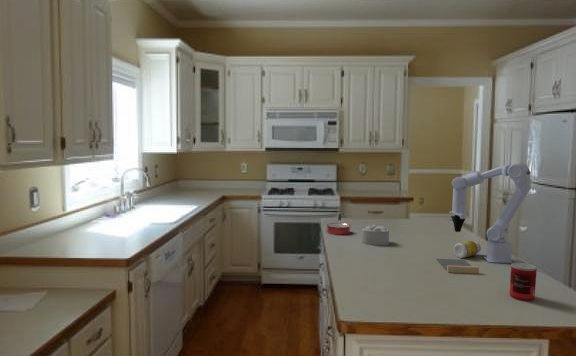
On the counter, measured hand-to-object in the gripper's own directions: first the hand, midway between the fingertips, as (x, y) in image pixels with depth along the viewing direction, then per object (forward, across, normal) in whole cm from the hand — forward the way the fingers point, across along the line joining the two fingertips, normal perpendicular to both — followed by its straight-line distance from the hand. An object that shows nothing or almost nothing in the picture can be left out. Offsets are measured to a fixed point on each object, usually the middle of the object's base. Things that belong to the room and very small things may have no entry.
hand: (457, 231), depth 209 cm
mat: (+10, +21, -6) cm, 24 cm away
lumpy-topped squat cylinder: (+11, -16, -36) cm, 41 cm away
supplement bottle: (+7, +8, -1) cm, 11 cm away
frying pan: (+11, -48, -54) cm, 73 cm away
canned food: (+11, +57, +6) cm, 58 cm away
